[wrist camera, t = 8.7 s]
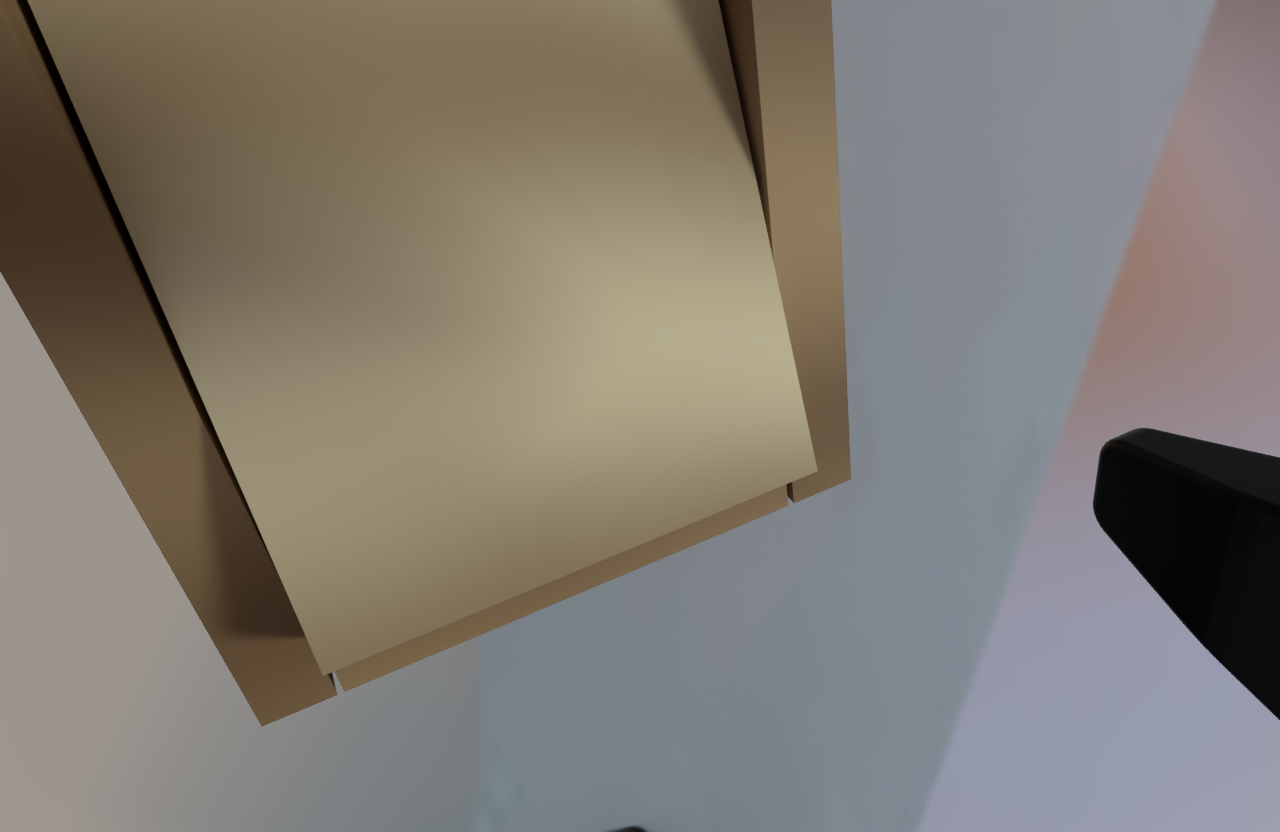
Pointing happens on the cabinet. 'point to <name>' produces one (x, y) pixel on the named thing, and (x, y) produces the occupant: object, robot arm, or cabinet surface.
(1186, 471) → the robot arm
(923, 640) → the cabinet surface
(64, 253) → the wooden tray
